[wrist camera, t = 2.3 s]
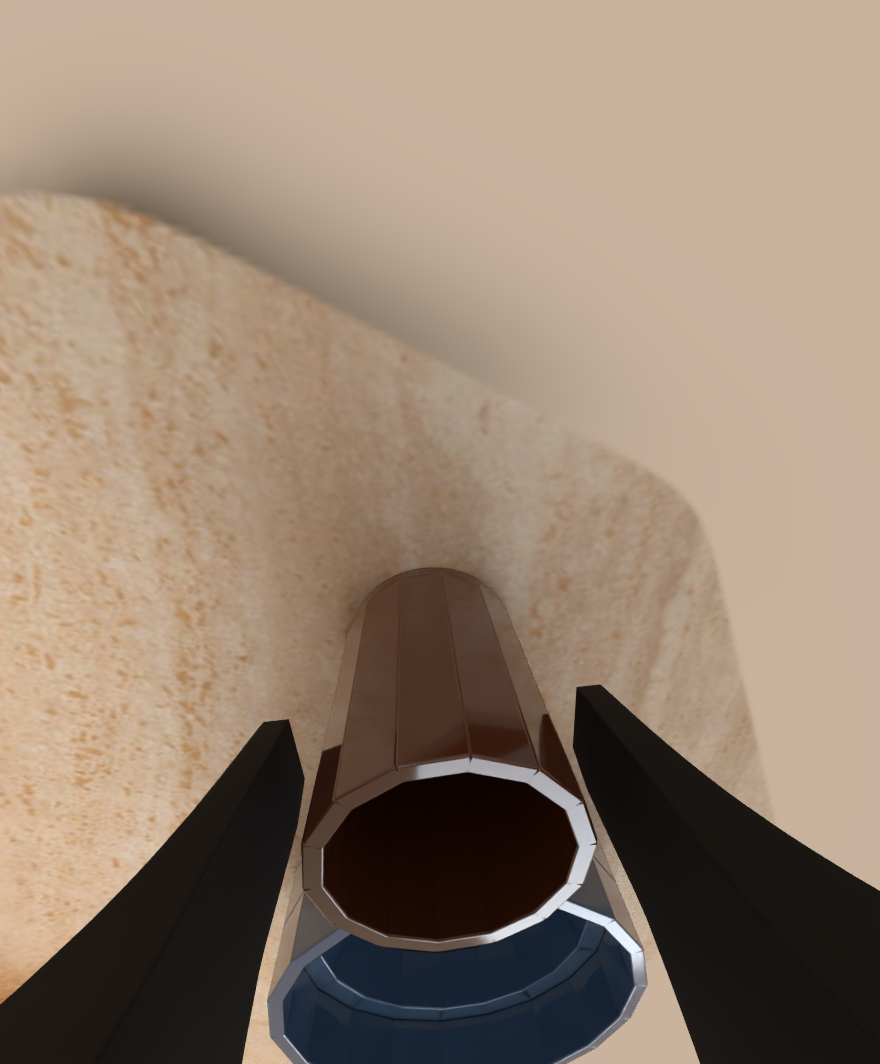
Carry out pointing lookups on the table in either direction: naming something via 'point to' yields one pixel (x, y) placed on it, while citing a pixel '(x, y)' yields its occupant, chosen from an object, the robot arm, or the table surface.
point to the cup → (441, 777)
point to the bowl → (459, 988)
